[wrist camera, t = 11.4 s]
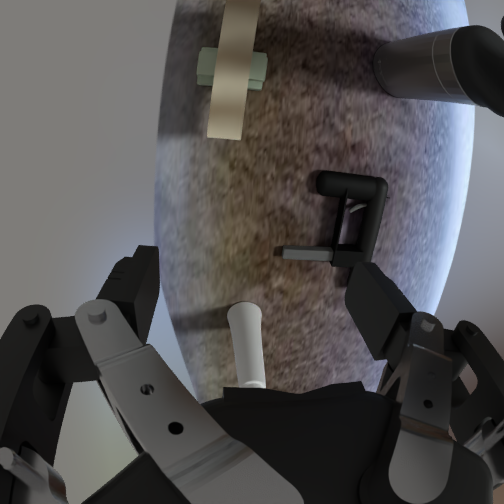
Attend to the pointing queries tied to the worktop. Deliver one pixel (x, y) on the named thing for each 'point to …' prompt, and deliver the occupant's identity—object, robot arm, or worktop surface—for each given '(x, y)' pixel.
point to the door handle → (344, 188)
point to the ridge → (209, 63)
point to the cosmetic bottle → (247, 344)
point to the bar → (233, 69)
